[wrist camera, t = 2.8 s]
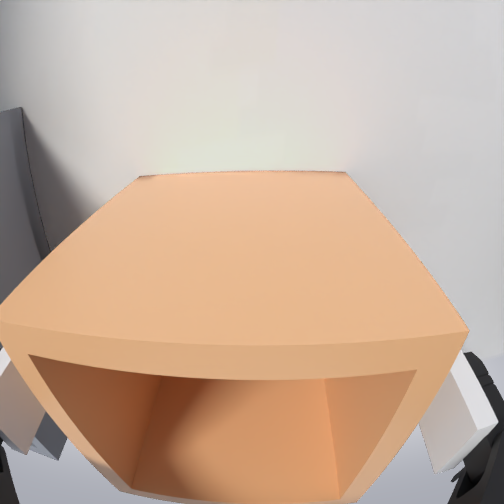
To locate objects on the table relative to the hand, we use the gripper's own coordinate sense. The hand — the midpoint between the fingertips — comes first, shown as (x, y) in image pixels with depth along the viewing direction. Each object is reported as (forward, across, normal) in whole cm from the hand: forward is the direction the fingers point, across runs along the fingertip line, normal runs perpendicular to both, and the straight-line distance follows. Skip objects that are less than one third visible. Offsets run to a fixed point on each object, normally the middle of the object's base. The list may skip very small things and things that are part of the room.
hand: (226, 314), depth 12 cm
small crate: (+4, 0, 0) cm, 4 cm away
